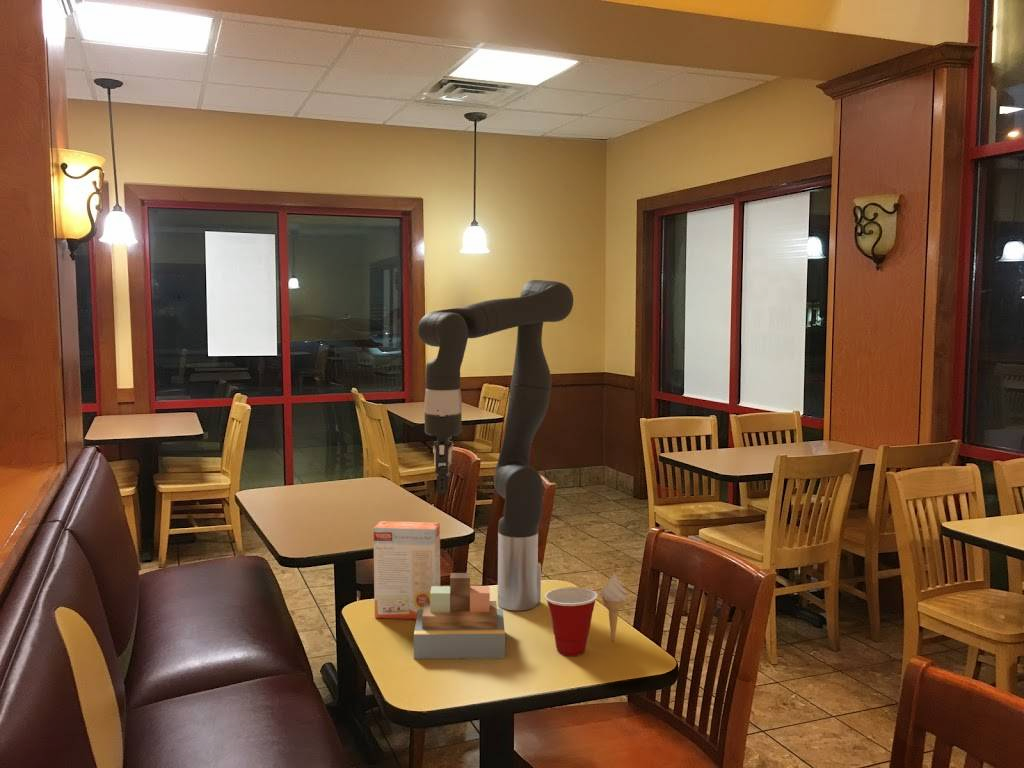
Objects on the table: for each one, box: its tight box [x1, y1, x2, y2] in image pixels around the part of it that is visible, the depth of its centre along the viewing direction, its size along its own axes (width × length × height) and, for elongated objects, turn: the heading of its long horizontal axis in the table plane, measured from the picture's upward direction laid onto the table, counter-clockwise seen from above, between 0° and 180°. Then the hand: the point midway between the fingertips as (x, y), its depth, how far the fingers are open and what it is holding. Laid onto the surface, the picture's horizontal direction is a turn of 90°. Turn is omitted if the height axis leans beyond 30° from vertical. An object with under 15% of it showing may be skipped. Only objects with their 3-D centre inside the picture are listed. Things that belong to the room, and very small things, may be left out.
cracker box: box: [373, 520, 441, 620], centre depth 186 cm, size 14×6×21 cm, turn 84°
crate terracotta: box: [470, 585, 491, 612], centre depth 171 cm, size 4×4×4 cm
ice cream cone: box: [600, 572, 628, 642], centre depth 174 cm, size 6×6×15 cm
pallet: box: [422, 572, 498, 629], centre depth 171 cm, size 15×8×10 cm, turn 92°
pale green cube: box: [430, 585, 450, 612], centre depth 171 cm, size 4×4×4 cm
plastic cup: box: [544, 586, 599, 657], centre depth 170 cm, size 11×11×12 cm
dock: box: [413, 608, 506, 660], centre depth 172 cm, size 18×13×5 cm
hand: (443, 488), depth 172 cm, fingers open, 8 cm apart
